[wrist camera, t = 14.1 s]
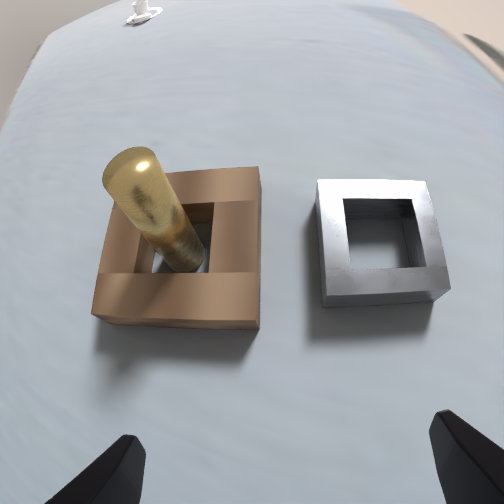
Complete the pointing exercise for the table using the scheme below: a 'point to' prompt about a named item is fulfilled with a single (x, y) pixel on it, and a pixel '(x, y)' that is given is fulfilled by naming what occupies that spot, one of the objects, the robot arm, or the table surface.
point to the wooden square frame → (189, 284)
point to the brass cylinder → (153, 207)
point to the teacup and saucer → (142, 12)
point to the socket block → (379, 280)
